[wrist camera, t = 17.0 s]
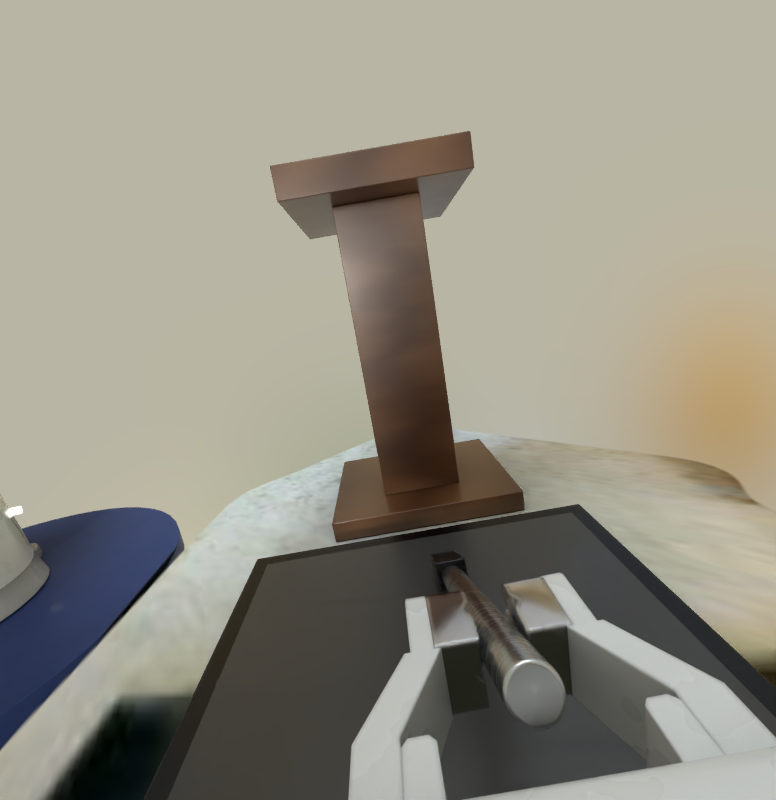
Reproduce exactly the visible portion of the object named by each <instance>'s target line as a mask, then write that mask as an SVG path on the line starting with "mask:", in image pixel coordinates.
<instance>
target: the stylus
mask: <svg viewBox="0 0 776 800" xmlns="http://www.w3.org/2000/svg"><path fill="white" fill-rule="evenodd" d="M431 561H432V566H433V572H434V577H435V579H436V581H437V584H438V586H439V589H440V591H444V590H448V592H454V591H461V590H464V592H465V595H466V598H467V602H468V608H469V614H471V615H472V617H473V620H474V623H475V626H476V629H477V633H478V636H479V639H480V645H481V651H482V659H483V662H484V664H485V666H486V668H487V670H488V672H489V674H490V676H491V678H492V680H493V682H494V684H495V686H496V688H497V690H498V692H499V694H500V696H501V698H502V700H503V702H504V704H505V706H506V708H507V710H508V712H509V713H510V715H511V716H512V717H513V719H514V720H515V721H516V722H517V723H519V724H520V725H522V726H523V727H525V728H528V729H531V730H537V731H541V730H547V729H549V728H551V727H553V726H555V725H556V724H557V723H558V722H559V720H560V719H561V717H562V716H563V713H564V710H565V706H566V691H565V686H564V683H563V681H562V679H561V677H560V675H559V674H558V672H557V671H556V670H555V669H554V667H553V666H552V665H551V664H550V663H549V662H548V661H547V660H546V659H545V658H544V657H543V656H542V655H541V654H540V653H539V652H538V650H537V649H536V648H535V647H534V646H533V645H532V644H531V643H530V642H529V641H528V640H527V639H526V638H525V637H524V636H523V634H522V633H521V632H520V631H519V630H518V629H517V628H516V627H515V626H514V625H513V624H512V623H511V622H510V621H509V620H508V619H507V617H506V616H505V615H504V614H503V613H502V612H501V611H500V610H499V609H498V608H497V607H496V606H495V605H494V604H493V603H492V602H491V600H490V599H489V598H488V597H487V596H486V595H485V594H484V593H483V592H482V591H481V590H480V589H479V588H478V587H477V586H476V585H475V583H474V582H473V581H472V580H471V579H470V578H469V576H468V572H467V567H466V562H465V559H464V558H463V557H462V556H461V555H459V554H458V553H457V552H456V551H454V550H453V551H448V552H442V553H437V554H431Z"/></svg>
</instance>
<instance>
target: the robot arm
mask: <svg viewBox="0 0 776 800" xmlns="http://www.w3.org/2000/svg"><path fill="white" fill-rule="evenodd" d="M22 512H23V510H22V508H21V506H19V507H14V508H10V509H9V508H8V506H7V505H6V503H5V501H4V500H3V498H2V497H1V495H0V622H1V621H2V620H4V619H5V618H7V617H8V616H9V615H11V614H12V613H13V612H15V611H16V610H17V609H19V608H20V607H21V606H22V605H23V604H25V603H26V602H27V601H28V600H29V599H30V598H31V597H32V596H34V595H35V594H36V593H37V592H38V590H39V589H40V588H41V587H42V586H43V585H44V583H45V582H46V580H47V579H48V576H49V573H50V569H49V567H48V566H47V565H46V564H45V563H44V562H43V560H42V559H41V556H42V550H41V549H40V547H39V545H38V544H37V543H31V544H30V543H29V541H28V539H27V538H26V536H25V534H24V532H23V531H22V529H21V527H20V526H19V524H18V522H17V521H16V519H15V517H14V516H13V515H16V514H21V513H22ZM501 590H502V598H503V600H504V602H505V605H506V607H507V609H506V610H505V612H504V615H505V616H506V617H507V619H508V620H509V621H510V622H511V623H512V624H513V625H514V626H515V627H516V628H517V629H518V630H519V631H520V632H521V633H522V634H523V636H524V637H525V638H526V639H527V640H528V641H529V642H530V643H531V644H532V645H533V646H534V647H535V648H536V649H537V650H538V652H539V653H540V654H541V655H542V656H543V657H544V658H545V659H546V660H547V661H548V662H549V663H550V664H551V665H552V666H553V667H554V669H555V670H556V671H557V672H558V674H559V675H560V677H561V679H562V681H563V683H564V686H565V691H566V695H573V697H574V698H575V699H576V700H577V701H578V702H579V703H580V704H582V705H583V706H584V707H585V708H586V709H587V710H588V711H590V712H591V713H592V714H593V715H594V716H595V717H597V718H598V719H599V720H600V721H601V722H602V723H603V724H605V725H606V726H607V727H608V728H609V729H610V730H611V731H613V732H614V733H615V734H616V735H617V736H618V737H620V738H621V739H622V740H623V741H624V742H625V743H626V744H628V745H629V746H630V747H631V748H632V749H633V750H634V751H636V752H637V753H638V754H639V755H640V756H641V757H643V758H644V759H645V760H646V767H647V768H646V769H640V770H635V771H629V772H623V773H617V774H611V775H605V776H599V777H593V778H587V779H581V780H576V781H570V782H564V783H558V784H552V785H546V786H540V787H534V788H528V789H522V790H516V791H510V792H505V793H499V794H493V795H487V796H481V797H475V798H469V799H463V800H776V737H775V736H774V735H773V734H772V733H771V732H770V731H769V730H768V729H767V728H766V727H765V726H764V724H763V723H762V722H761V721H760V720H759V719H758V718H757V717H756V716H755V715H754V714H753V713H752V712H751V711H750V710H749V709H748V708H747V707H746V705H745V704H744V703H743V702H742V701H741V700H740V699H739V698H738V697H737V696H736V695H735V694H734V693H733V692H732V691H731V690H730V689H729V688H728V686H727V685H726V684H725V683H723V682H722V681H720V680H718V679H716V678H714V677H712V676H710V675H708V674H706V673H704V672H702V671H701V670H699V669H697V668H695V667H693V666H691V665H689V664H687V663H685V662H683V661H681V660H680V659H678V658H676V657H674V656H672V655H670V654H668V653H666V652H664V651H662V650H660V649H659V648H657V647H655V646H653V645H651V644H649V643H647V642H645V641H643V640H641V639H640V638H638V637H636V636H634V635H632V634H630V633H628V632H626V631H624V630H622V629H620V628H619V627H617V626H615V625H613V624H611V623H609V622H607V621H605V620H598V621H597V619H596V618H595V617H594V615H593V614H592V613H591V611H590V610H589V609H588V607H587V606H586V605H585V603H584V602H583V600H582V599H581V598H580V596H579V595H578V594H577V592H576V591H575V590H574V588H573V587H572V586H571V584H570V583H569V581H568V580H567V579H566V577H565V576H564V575H563V574H562V573H555V574H549V575H544V576H541V577H536V578H531V579H525V580H520V581H514V582H509V583H503V584H502V587H501ZM425 597H426V599H425ZM425 597H424V596H422V597H416V598H409V599H406V600H405V607H406V617H407V626H408V636H409V646H410V653H406V654H404V655H403V657H402V659H401V660H400V662H399V664H398V666H397V667H396V669H395V671H394V673H393V674H392V676H391V678H390V679H389V681H388V683H387V685H386V686H385V688H384V690H383V692H382V693H381V695H380V697H379V699H378V700H377V702H376V704H375V705H374V707H373V709H372V711H371V712H370V714H369V716H368V718H367V719H366V721H365V723H364V725H363V726H362V728H361V730H360V732H359V733H358V735H357V737H356V738H355V740H354V742H353V744H352V746H351V763H350V780H349V797H348V800H448V799H447V794H446V788H445V782H444V777H443V771H442V766H441V760H440V759H441V756H442V752H443V749H444V746H445V743H446V739H447V736H448V733H449V730H450V726H451V723H452V720H453V715H455V714H460V713H465V712H470V711H474V710H479V709H484V708H489V701H488V693H487V686H486V681H485V678H484V674H483V671H482V667H483V666H484V664H483V659H482V651H481V645H480V639H479V636H478V633H477V629H476V626H475V623H474V620H473V617H472V615H471V614H469V608H468V602H467V598H466V595H465V592H464V590H461V591H454V592H448V593H441V594H434V595H427V596H425ZM426 604H427V605H426ZM428 615H429V616H428Z"/></svg>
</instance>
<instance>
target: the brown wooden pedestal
mask: <svg viewBox="0 0 776 800" xmlns="http://www.w3.org/2000/svg"><path fill="white" fill-rule="evenodd" d="M473 168H474V161H473V152H472V144H471V134H470V131H467V132H462V133H455V134H450V135H444V136H438V137H433V138H427V139H421V140H415V141H410V142H404V143H398V144H392V145H387V146H381V147H376V148H369V149H364V150H358V151H352V152H347V153H341V154H336V155H329V156H323V157H318V158H312V159H306V160H301V161H295V162H289V163H283V164H278V165H272V166H270V169H271V173H272V178H273V183H274V188H275V192H276V197H277V201H278V202H279V204H280V205H281V206H282V207H283V208H284V210H285V211H286V212H287V213H288V214H289V215H290V217H291V218H292V219H293V220H294V221H295V222H296V223H297V225H298V226H299V227H300V228H301V229H302V230H303V232H304V233H305V234H306V235H307V236H308V237H309V238H310V239H314V238H320V237H325V236H331V235H337V237H338V242H339V247H340V253H341V258H342V264H343V269H344V274H345V280H346V285H347V291H348V296H349V302H350V307H351V312H352V318H353V323H354V329H355V334H356V339H357V345H358V350H359V356H360V361H361V367H362V372H363V377H364V382H365V388H366V394H367V399H368V404H369V410H370V415H371V420H372V426H373V431H374V437H375V442H376V448H377V453H378V457H372V458H366V459H360V460H354V461H348V462H345V463H344V468H343V473H342V478H341V483H340V488H339V493H338V498H337V503H336V508H335V513H334V518H333V523H332V526H333V530H334V534H335V539H336V542H338V541H343V540H349V539H355V538H361V537H367V536H373V535H378V534H384V533H390V532H396V531H402V530H408V529H413V528H419V527H425V526H431V525H437V524H443V523H448V522H454V521H460V520H466V519H472V518H478V517H483V516H489V515H495V514H501V513H507V512H513V511H518V510H524V509H525V508H524V498H523V491H522V490H521V489H520V487H519V486H518V485H517V484H516V483H515V481H514V480H513V479H512V478H511V477H510V475H509V474H508V473H507V472H506V471H505V469H504V468H503V467H502V466H501V465H500V463H499V462H498V461H497V460H496V459H495V458H494V456H493V455H492V454H491V453H490V452H489V450H488V449H487V448H486V447H485V446H484V444H483V443H482V442H481V441H480V440H479V439H476V440H471V441H465V442H459V443H454V440H453V432H452V425H451V418H450V411H449V403H448V396H447V390H446V382H445V374H444V367H443V361H442V353H441V346H440V338H439V331H438V324H437V317H436V310H435V302H434V294H433V287H432V280H431V273H430V266H429V259H428V251H427V244H426V236H425V229H424V222H423V219H429V218H434V217H440V216H441V215H442V214H443V212H444V211H445V209H446V208H447V206H448V205H449V203H450V202H451V200H452V199H453V197H454V196H455V195H456V193H457V191H458V190H459V189H460V187H461V186H462V184H463V183H464V181H465V180H466V178H467V177H468V175H469V174H470V172H471V171H472V170H473Z"/></svg>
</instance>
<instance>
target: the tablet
mask: <svg viewBox="0 0 776 800" xmlns="http://www.w3.org/2000/svg"><path fill="white" fill-rule="evenodd" d="M453 550H454V551H456V552H457V553H458V554H459V555H461V556H462V557H463V558H464V559H465V562H466V567H467V572H468V576H469V578H470V579H471V580H472V581H473V582H474V583H475V585H476V586H477V587H478V588H479V589H480V590H481V591H482V592H483V593H484V594H485V595H486V596H487V597H488V598H489V599H490V600H491V602H492V603H493V604H494V605H495V606H496V607H497V608H498V609H499V610H500V611H501V612H502V613H503V614H504V612H505V610H506V609H507V607H506V605H505V602H504V600H503V598H502V590H501V587H502V584H503V583H509V582H514V581H520V580H525V579H531V578H536V577H541V576H544V575H549V574H555V573H562V574H563V575H564V576H565V577H566V579H567V580H568V581H569V583H570V584H571V586H572V587H573V588H574V590H575V591H576V592H577V594H578V595H579V596H580V598H581V599H582V600H583V602H584V603H585V605H586V606H587V607H588V609H589V610H590V611H591V613H592V614H593V615H594V617H595V618H596V619H597V621H598V620H605V621H607V622H609V623H611V624H613V625H615V626H617V627H619V628H620V629H622V630H624V631H626V632H628V633H630V634H632V635H634V636H636V637H638V638H640V639H641V640H643V641H645V642H647V643H649V644H651V645H653V646H655V647H657V648H659V649H660V650H662V651H664V652H666V653H668V654H670V655H672V656H674V657H676V658H678V659H680V660H681V661H683V662H685V663H687V664H689V665H691V666H693V667H695V668H697V669H699V670H701V671H702V672H704V673H706V674H708V675H710V676H712V677H714V678H716V679H718V680H720V681H722V682H723V683H725V684H726V685H727V686H728V688H729V689H730V690H731V691H732V692H733V693H734V694H735V695H736V696H737V697H738V698H739V699H740V700H741V701H742V702H743V703H744V704H745V705H746V707H747V708H748V709H749V710H750V711H751V712H752V713H753V714H754V715H755V716H756V717H757V718H758V719H759V720H760V721H761V722H762V723H763V724H764V726H765V727H766V728H767V729H768V730H769V731H770V732H771V733H772V734H773V735H774V736H775V737H776V688H775V687H774V686H773V685H772V684H771V683H770V682H769V681H768V680H767V679H766V678H765V677H764V676H763V675H762V674H760V673H759V672H758V671H757V670H756V669H755V668H754V667H753V666H752V665H751V664H750V663H749V662H748V661H747V660H745V659H744V658H743V657H742V656H741V655H740V654H739V653H738V652H737V651H736V650H735V649H734V648H733V647H731V646H730V645H729V644H728V643H727V642H726V641H725V640H724V639H723V638H722V637H721V636H720V635H719V634H718V633H716V632H715V631H714V630H713V629H712V628H711V627H710V626H709V625H708V624H707V623H706V622H705V621H704V620H702V619H701V618H700V617H699V616H698V615H697V614H696V613H695V612H694V611H693V610H692V609H691V608H690V607H689V606H687V605H686V604H685V603H684V602H683V601H682V600H681V599H680V598H679V597H678V596H677V595H676V594H675V593H674V592H672V591H671V590H670V589H669V588H668V587H667V586H666V585H665V584H664V583H663V582H662V581H661V580H660V579H658V578H657V577H656V576H655V575H654V574H653V573H652V572H651V571H650V570H649V569H648V568H647V567H646V566H645V565H643V564H642V563H641V562H640V561H639V560H638V559H637V558H636V557H635V556H634V555H633V554H632V553H631V552H629V551H628V550H627V549H626V548H625V547H624V546H623V545H622V544H621V543H620V542H619V541H618V540H617V539H616V538H614V537H613V536H612V535H611V534H610V533H609V532H608V531H607V530H606V529H605V528H604V527H603V526H602V525H601V524H599V523H598V522H597V521H596V520H595V519H594V518H593V517H592V516H591V515H590V514H589V513H588V512H587V511H585V510H584V509H583V508H582V507H581V506H580V505H579V504H577V505H571V506H565V507H560V508H554V509H548V510H542V511H536V512H530V513H525V514H519V515H513V516H507V517H501V518H495V519H490V520H484V521H478V522H472V523H466V524H460V525H455V526H449V527H443V528H437V529H431V530H425V531H420V532H414V533H408V534H402V535H396V536H390V537H385V538H379V539H373V540H367V541H361V542H355V543H350V544H344V545H338V546H332V547H326V548H320V549H315V550H309V551H303V552H297V553H291V554H285V555H280V556H274V557H268V558H262V559H258V560H257V562H256V564H255V566H254V568H253V570H252V572H251V574H250V576H249V578H248V581H247V583H246V585H245V587H244V589H243V591H242V593H241V595H240V597H239V600H238V602H237V604H236V606H235V608H234V610H233V612H232V614H231V616H230V618H229V621H228V623H227V625H226V627H225V629H224V631H223V633H222V635H221V637H220V640H219V642H218V644H217V646H216V648H215V650H214V652H213V654H212V656H211V658H210V661H209V663H208V665H207V667H206V669H205V671H204V673H203V675H202V677H201V680H200V682H199V684H198V686H197V688H196V690H195V692H194V694H193V696H192V698H191V701H190V703H189V705H188V707H187V709H186V711H185V713H184V715H183V717H182V720H181V722H180V724H179V726H178V728H177V730H176V732H175V734H174V736H173V738H172V741H171V743H170V745H169V747H168V749H167V751H166V753H165V755H164V757H163V760H162V762H161V764H160V766H159V768H158V770H157V772H156V774H155V776H154V778H153V781H152V783H151V785H150V787H149V789H148V791H147V793H146V795H145V797H144V799H143V800H348V797H349V780H350V763H351V746H352V744H353V742H354V740H355V738H356V737H357V735H358V733H359V732H360V730H361V728H362V726H363V725H364V723H365V721H366V719H367V718H368V716H369V714H370V712H371V711H372V709H373V707H374V705H375V704H376V702H377V700H378V699H379V697H380V695H381V693H382V692H383V690H384V688H385V686H386V685H387V683H388V681H389V679H390V678H391V676H392V674H393V673H394V671H395V669H396V667H397V666H398V664H399V662H400V660H401V659H402V657H403V655H404V654H406V653H410V646H409V636H408V626H407V617H406V607H405V600H406V599H409V598H416V597H422V596H424V597H425V596H427V595H434V594H441V593H448V590H444V591H440V589H439V586H438V584H437V581H436V579H435V577H434V572H433V566H432V561H431V554H437V553H442V552H448V551H453ZM425 599H426V597H425ZM426 605H427V604H426ZM428 616H429V615H428ZM483 664H484V662H483ZM482 671H483V674H484V678H485V681H486V686H487V693H488V701H489V708H484V709H479V710H474V711H470V712H465V713H460V714H455V715H453V720H452V723H451V726H450V730H449V733H448V736H447V739H446V743H445V746H444V749H443V752H442V756H441V759H440V760H441V766H442V771H443V777H444V782H445V788H446V794H447V799H448V800H463V799H469V798H475V797H481V796H487V795H493V794H499V793H505V792H510V791H516V790H522V789H528V788H534V787H540V786H546V785H552V784H558V783H564V782H570V781H576V780H581V779H587V778H593V777H599V776H605V775H611V774H617V773H623V772H629V771H635V770H640V769H646V768H647V767H646V760H645V759H644V758H643V757H641V756H640V755H639V754H638V753H637V752H636V751H634V750H633V749H632V748H631V747H630V746H629V745H628V744H626V743H625V742H624V741H623V740H622V739H621V738H620V737H618V736H617V735H616V734H615V733H614V732H613V731H611V730H610V729H609V728H608V727H607V726H606V725H605V724H603V723H602V722H601V721H600V720H599V719H598V718H597V717H595V716H594V715H593V714H592V713H591V712H590V711H588V710H587V709H586V708H585V707H584V706H583V705H582V704H580V703H579V702H578V701H577V700H576V699H575V698H574V697H573V695H566V706H565V710H564V713H563V716H562V717H561V719H560V720H559V722H558V723H557V724H556V725H555V726H553V727H551V728H549V729H547V730H541V731H537V730H531V729H528V728H525V727H523V726H522V725H520V724H519V723H517V722H516V721H515V720H514V719H513V717H512V716H511V715H510V713H509V712H508V710H507V708H506V706H505V704H504V702H503V700H502V698H501V696H500V694H499V692H498V690H497V688H496V686H495V684H494V682H493V680H492V678H491V676H490V674H489V672H488V670H487V668H486V666H485V664H484V666H483V667H482Z"/></svg>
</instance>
